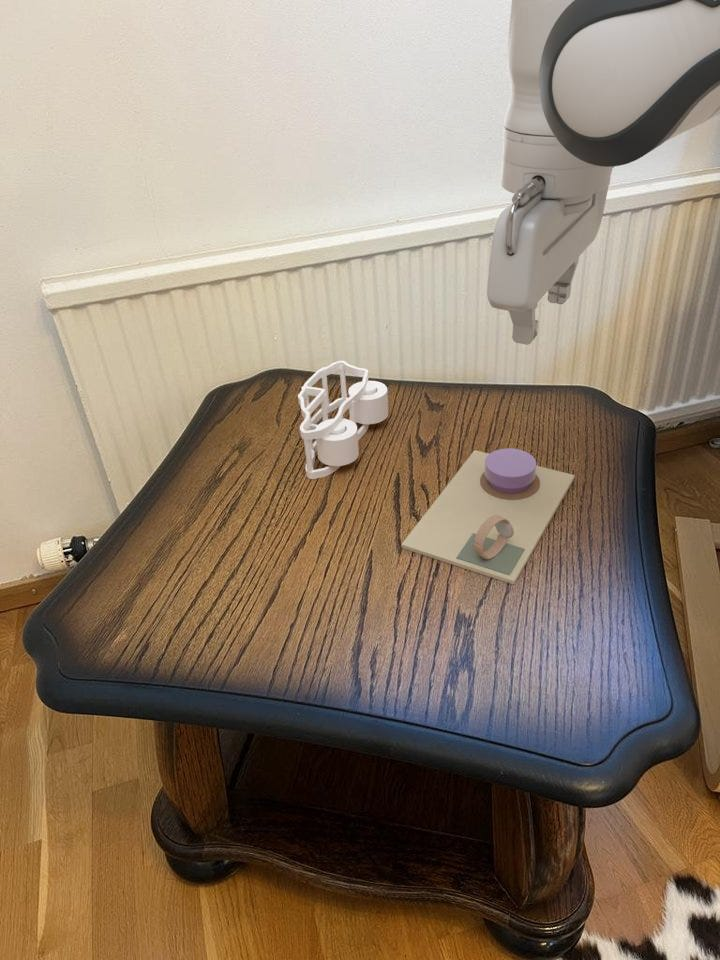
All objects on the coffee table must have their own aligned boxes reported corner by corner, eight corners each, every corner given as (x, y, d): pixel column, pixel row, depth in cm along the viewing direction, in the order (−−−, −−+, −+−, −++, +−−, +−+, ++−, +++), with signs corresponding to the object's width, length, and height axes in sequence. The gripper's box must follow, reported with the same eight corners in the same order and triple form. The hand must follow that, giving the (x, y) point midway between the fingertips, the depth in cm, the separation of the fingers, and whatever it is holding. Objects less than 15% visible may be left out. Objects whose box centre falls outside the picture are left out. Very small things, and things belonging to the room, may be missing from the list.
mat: (574, 478, 99) (575, 474, 98) (514, 585, 83) (514, 580, 83) (474, 453, 105) (474, 448, 104) (401, 548, 90) (401, 543, 89)
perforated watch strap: (512, 549, 87) (515, 515, 84) (485, 569, 85) (487, 535, 82) (494, 538, 89) (496, 505, 86) (467, 558, 86) (468, 524, 83)
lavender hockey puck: (541, 474, 98) (543, 455, 97) (524, 501, 94) (526, 482, 92) (495, 462, 101) (496, 443, 99) (476, 488, 97) (477, 469, 95)
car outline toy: (345, 486, 100) (341, 439, 96) (271, 470, 104) (264, 425, 100) (398, 411, 115) (397, 368, 110) (332, 400, 119) (328, 358, 114)
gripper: (553, 201, 54) (537, 375, 62) (626, 137, 68) (606, 286, 76) (470, 193, 56) (465, 361, 64) (557, 133, 70) (544, 277, 79)
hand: (542, 319), depth 70 cm, fingers open, 8 cm apart
